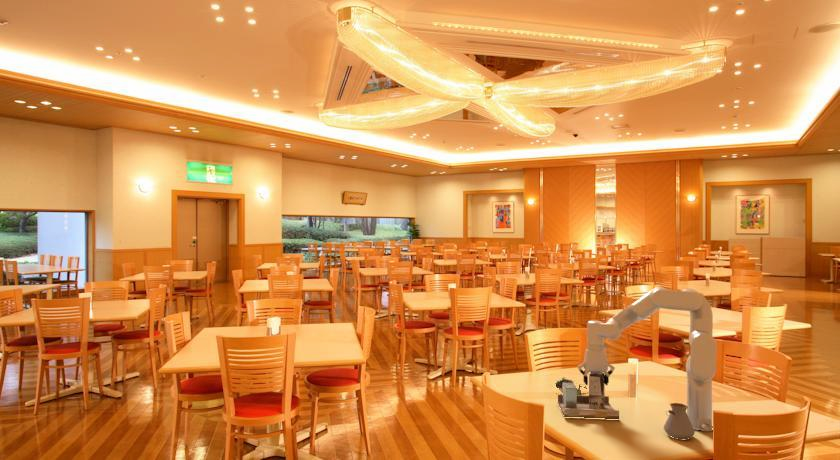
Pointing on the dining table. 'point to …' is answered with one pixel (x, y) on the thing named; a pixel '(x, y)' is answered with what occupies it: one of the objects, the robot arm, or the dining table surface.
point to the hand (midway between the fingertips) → (596, 384)
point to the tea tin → (569, 395)
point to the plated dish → (560, 385)
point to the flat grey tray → (585, 411)
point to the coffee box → (596, 390)
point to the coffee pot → (678, 422)
